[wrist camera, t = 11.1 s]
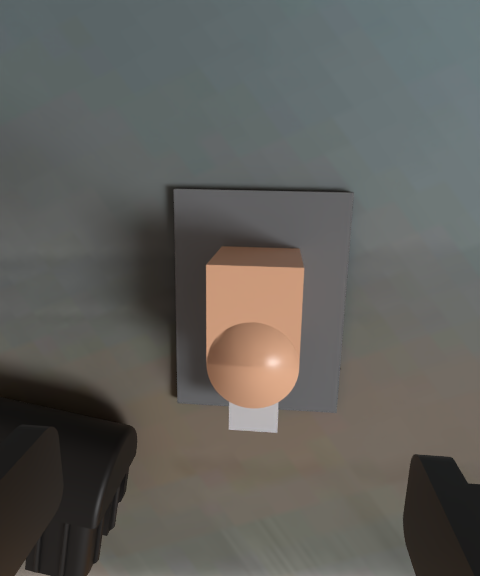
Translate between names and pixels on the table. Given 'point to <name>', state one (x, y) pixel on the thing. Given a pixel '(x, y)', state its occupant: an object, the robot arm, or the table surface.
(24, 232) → the table surface
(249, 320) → the plug
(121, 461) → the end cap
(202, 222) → the mat
